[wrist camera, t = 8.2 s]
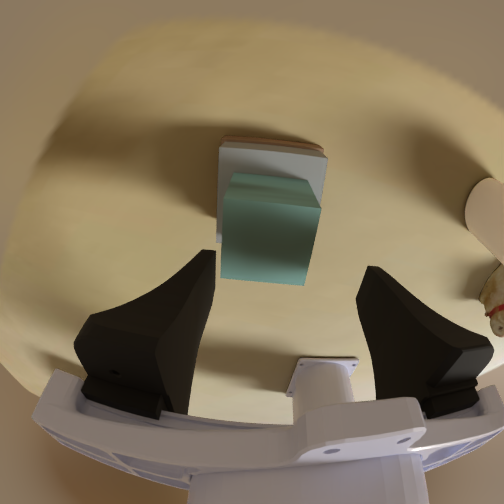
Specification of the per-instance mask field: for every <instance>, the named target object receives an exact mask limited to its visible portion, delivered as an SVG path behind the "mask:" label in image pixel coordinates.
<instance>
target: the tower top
mask: <svg viewBox="0 0 504 504" xmlns="http://www.w3.org/2000/svg"><path fill="white" fill-rule="evenodd" d="M327 162H328V158H327V157H326V156H325V155H324V154H323V153H322V152H321V151H316V150H309V149H302V148H294V147H286V146H277V145H267V144H255V143H242V142H226V141H225V142H224V143H223V144H222V145H221V146H220V147H219V163H218V190H217V229H216V243H222V222H223V200H224V196H225V193H226V191H227V188H228V186H229V183H230V181H231V178H232V176H233V173H234V172H235V173H247V174H257V175H267V176H277V177H285V178H293V179H301V180H308V182H309V184H310V186H311V188H312V190H313V192H314V194H315V196H316V198H317V200H318V202H319V205H320V203H321V197H322V192H323V186H324V180H325V174H326V168H327Z"/></svg>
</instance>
